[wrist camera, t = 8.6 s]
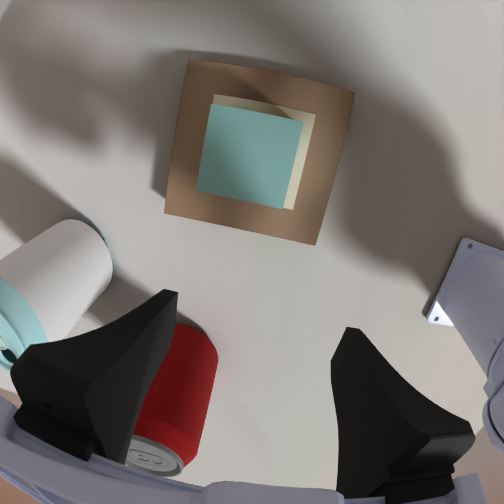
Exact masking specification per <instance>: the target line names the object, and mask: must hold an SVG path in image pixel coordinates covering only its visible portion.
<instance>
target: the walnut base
mask: <svg viewBox="0 0 504 504" xmlns="http://www.w3.org/2000/svg"><path fill="white" fill-rule="evenodd" d="M354 96H355V92H351V91H348V90H345V89H342V88H338V87H335V86H331V85H328V84H324V83H320V82H316V81H312V80H308V79H304V78H300V77H296V76H292V75H287V74H282V73H278V72H273V71H268V70H262V69H257V68H251V67H245V66H239V65H232V64H225V63H217V62H209V61H199V60H189V62H188V67H187V71H186V76H185V81H184V86H183V91H182V96H181V101H180V106H179V112H178V118H177V123H176V129H175V135H174V142H173V148H172V155H171V162H170V169H169V176H168V184H167V192H166V200H165V209H164V213H165V214H170V215H175V216H180V217H185V218H190V219H194V220H199V221H204V222H209V223H214V224H218V225H223V226H228V227H232V228H237V229H242V230H246V231H251V232H256V233H260V234H265V235H269V236H274V237H278V238H283V239H287V240H292V241H296V242H301V243H305V244H310V245H314V246H315V245H316V241H317V238H318V235H319V231H320V228H321V224H322V221H323V217H324V214H325V210H326V207H327V203H328V200H329V196H330V192H331V189H332V185H333V181H334V178H335V174H336V170H337V166H338V162H339V159H340V155H341V151H342V147H343V143H344V139H345V135H346V131H347V126H348V122H349V118H350V114H351V109H352V105H353V101H354ZM211 104H215V105H222V106H228V107H234V108H239V109H245V110H250V111H255V112H260V113H265V114H270V115H274V116H279V117H283V118H288V119H292V120H296V121H300V122H304V123H303V127H302V131H301V135H300V140H299V144H298V148H297V152H296V156H295V161H294V165H293V169H292V173H291V177H290V181H289V185H288V189H287V194H286V198H285V202H284V206H283V209H279V208H274V207H270V206H265V205H261V204H256V203H252V202H247V201H243V200H238V199H233V198H228V197H224V196H219V195H214V194H209V193H204V192H199V191H196V186H197V180H198V174H199V168H200V162H201V156H202V150H203V145H204V139H205V134H206V129H207V123H208V118H209V113H210V108H211Z"/></svg>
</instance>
